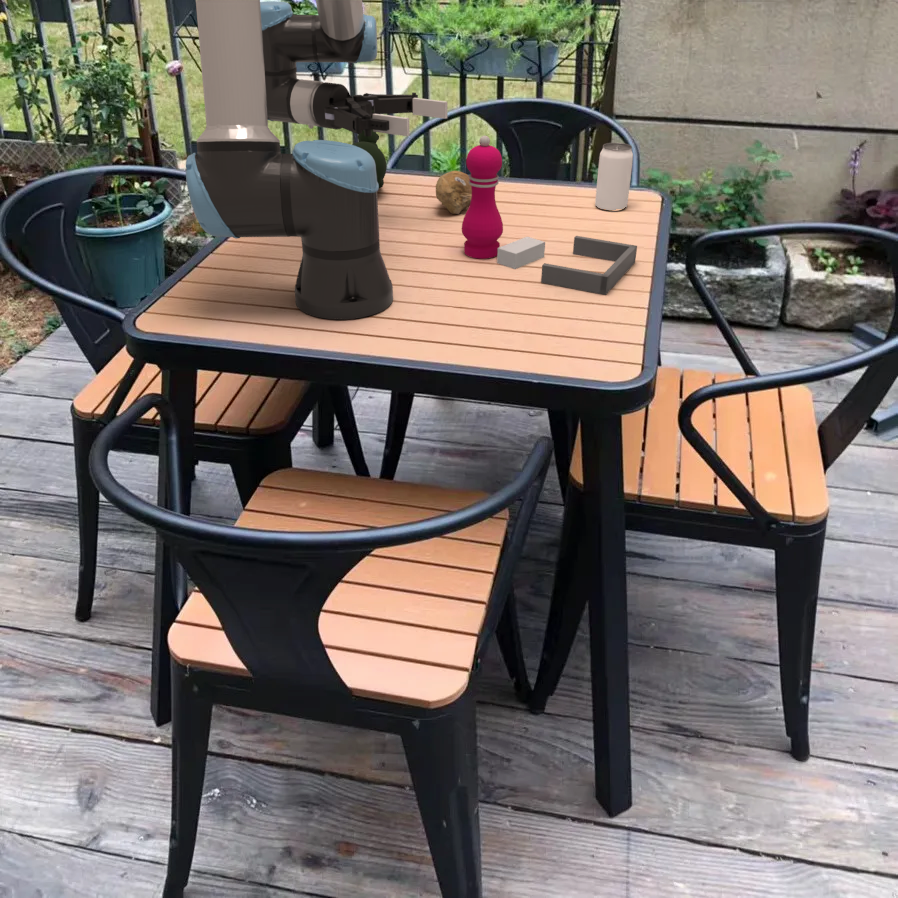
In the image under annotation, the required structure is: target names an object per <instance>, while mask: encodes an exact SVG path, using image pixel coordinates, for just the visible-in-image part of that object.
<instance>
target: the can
mask: <svg viewBox="0 0 898 898" xmlns="http://www.w3.org/2000/svg"><path fill="white" fill-rule="evenodd" d="M632 148H633V146H632V145H631V144H628V143H622V142H607V143H604V144H603V145H602V149H601V151H600V153H599V157H598V159H599V160H598V167H597V168H598V169H597V170H598V171H597V181H596V190H595V200H594V201H595V202H594V205H595V207H596V206H597V207H598V208H601V209H606V210H616V209H623V208H625V207H626V208H627V207H628V203H629V194H630V186H631V177H632V168H633V161H634V159H633V158H634V154H633V150H632ZM597 207H596V208H597ZM598 208H597V209H598ZM626 208H625V209H626Z"/></svg>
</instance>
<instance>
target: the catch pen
mask: <svg viewBox="0 0 898 898" xmlns="http://www.w3.org/2000/svg"><path fill="white" fill-rule="evenodd" d="M637 250H638V245H634V244H629V243H628V244H627V243H622V242H617V241H610V240H604V239H599V238H594V237H593V238H592V237H587V236H581V235H580V236H579V235H575V236H574V238H573V249H572V254H573V255H577V256H584V257H589V258H595V259H600V260H605V261H606V260H607V261H612V262H613V263H612V264H611V266H609V268H607V270H605V272H603V273H601V272H596V271H595V272H594V271H591V270H590V271H589V270H584V269H580V268H573V267H569V266H568V267H567V266H563V265H556V264H553V263H552V264H551V263H543V264H542V266H541V278H540V283H541V284H546V285H551V286H555V287H561V288H566V289H567V288H568V289H572V290H573V289H574V290H576V291H577V290H578V291H583V292H589V293H593V294H599V295H603V296H604V295H605V296H606V295H607V294H608V293H609V292H610V291H611V290H612V288H614V286H615V285H616V284H617V283H618V282H620V280H621V279H622V278H623V277H624V275H625V274H626V273H627V272H628V271H629V270H630V269H631V268H632V266H634V264H635V263H636V257H637Z"/></svg>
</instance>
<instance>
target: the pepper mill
mask: <svg viewBox="0 0 898 898" xmlns="http://www.w3.org/2000/svg"><path fill="white" fill-rule="evenodd" d="M490 143H491V139H490V137H489V136H487V135H482V136H481V137H480V138H479V145H476V146H474V147H472V148H471V149H470V150H469V152H468V153H467V155H466V159H465V160H466V161H465V164H466V168H467V170H468V171H469V173H470V174H469V175H468V176H469V184H470V185H471V189H472V196H471V202H470V206H469V207H468V209H467V211H466V212H465V214H464V217H463V219H462V224H461V233H462V235H463V236H464V238H465V239H466V240H465V241H464V245H463V246H464V247H463V252H464V253H463V254H465V256H467V257H468V258H469V257H470V258H473V259H477V260H478V259H479V260H484V259H493V258H497V253H498V248H499V247H501V246H500V245H501V243H500V242H499V241H498V240H499V239H500V238H501V237H502V235H503V233H504V225H503V224H504V223H503V220H502V216H501V213H500V212H499V209H498V206H497V203H496V187H497V186H498V185H499V178H500V177H499V175H498V173H499V171H500V170H501V168H502V165H503V159H502V158H503V157H502V154H501V151H500V150H499V149H498V148H496V147H495V146H493V145H490Z"/></svg>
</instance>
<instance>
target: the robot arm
mask: <svg viewBox="0 0 898 898" xmlns="http://www.w3.org/2000/svg"><path fill="white" fill-rule="evenodd" d="M315 5H316V9H317V14H294V11H292V6H291V4H290V3H289V2H286V1H277V0H276V1H273V0H272V1H271V0H269V1H267V0H265V1H261V0H195V6H196V7H195V8H196V9H195V10H196V18H197V21H196V22H197V29H198V31H197V32H198V43H199V53H200V54H199V55H200V56H199V57H200V65H201V76H202V87H203V99H204V100H203V101H204V102H203V103H204V114H205V129H204V131H203V132H202V133H201V134H200V135H199V137H197V139H196V151H197V152H193V153H192V154H188V156H187V158H186V160H185V169H186V172H185V178H186V179H185V181H186V187H187V191H188V196H189V200H190V205H191V207H192V211H193V213H194V215H195V218H196V219H197V222H198V224H199V226H200V227H201V228H202V230H203V231H204V232H205V233H206V234H208V235H209V236H213V237H218V238H219V237H222V238H234V239H236V240H237V239H241V238H287V237H291V238H292V237H293V238H294V237H295V238H296V237H298V238H299V237H300V239H301V246H302V247H301V248H302V256H301V260H300V264H299V268H298V273H297V277H296V281H295V286H294V297H295V299H294V300H295V304H296V307H297V308H298V309H299V310H300V311H301V312H303V313H305V314H307V315H310V316H312V317H317V318H321V319H328V320H353V319H359V318H366V317H368V316H369V317H370V316H373V315H376V314H378V313H380V312H383V311H385V310H386V309H387V308H389V307H390V306H391V304H392V303H393V300H394V287H393V286H394V285H393V283H392V280H391V279H390V275H389V271H388V269H387V267H386V264H385V263H386V262H385V261H384V258H383V255H382V253H381V248H380V243H381V242H380V226H379V225H380V224H379V222H380V221H379V204H378V203H379V202H378V191H379V190H380V189H379V185H378V182H377V175H376V165H375V161H374V159H373V157H372V156H371V155H370V154H369V153H368V152H367V151H365V150H363V149H361V148H359V147H357V146H354V145H352V144H350V143H346V142H342V141H335V140H325V139H313V140H303V141H299V142H297V143H296V144H295V145H294V146H293V149H292V150H291V152H292V153H281V140H280V139H279V138H278V137H277V136H276V134H274V133H273V132H272V131H271V128H269V121H270V122H281V123H291V124H297V125H308V128H309V129H310V130H311V129H314V127H320V128H325V129H332V130H341V129H344V130H347V131H349V132H351V133H354V134H357V135H358V134H360V133H362V130H364V133H365V136H372V131H371V129H373V132H376V133H380V134H389V135H396V136H404V137H409V136H410V135H411V134H410V132H411V131H410V118H409V117H404V116H403V117H402V116H395V115H391V114H412V115H413V116H421V117H429V118H438V119H445V120H446V119H448V101H446V100H445V101H444V100H437V99H429V98H428V99H427V98H421V97H420V98H419V96H418V94H417V92H415V91H414V92H411V94H385V93H384V94H383V93H382V94H381V93H380V94H379V93H378V94H375V93H368V92H365V93H364V94H354V95H351V94H350V91H349V90H348V88H347V87H346V86H345V85H343V84H342V83H335V82H323V81H321V80H311V79H302V78H301V79H300V78H298V77H297V76H298V75H297V71H298V70H297V63H350V64H351V63H353V64H357V63H369V62H373V61H375V60H376V59H377V56H378V30H377V20H376V18H375V17H374V16H373V15H367V14H365V13H364V6H363V0H315ZM372 110H374V112H373V113H372Z"/></svg>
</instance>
